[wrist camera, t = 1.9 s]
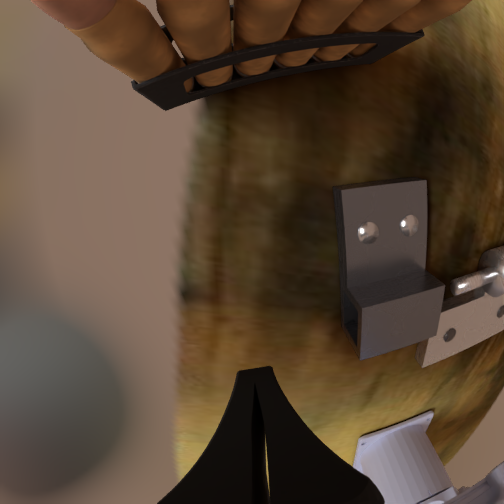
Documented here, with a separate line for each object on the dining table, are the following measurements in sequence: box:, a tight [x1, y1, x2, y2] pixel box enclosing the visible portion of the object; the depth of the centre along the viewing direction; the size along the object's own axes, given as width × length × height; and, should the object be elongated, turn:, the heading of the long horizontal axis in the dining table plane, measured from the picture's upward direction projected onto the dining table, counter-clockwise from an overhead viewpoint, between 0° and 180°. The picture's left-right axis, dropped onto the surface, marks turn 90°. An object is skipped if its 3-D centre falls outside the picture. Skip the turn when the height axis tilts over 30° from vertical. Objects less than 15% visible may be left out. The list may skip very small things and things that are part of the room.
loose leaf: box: [333, 177, 445, 360], centre depth 13 cm, size 8×5×3 cm, turn 10°
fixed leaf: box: [415, 246, 504, 368], centre depth 15 cm, size 8×10×3 cm
